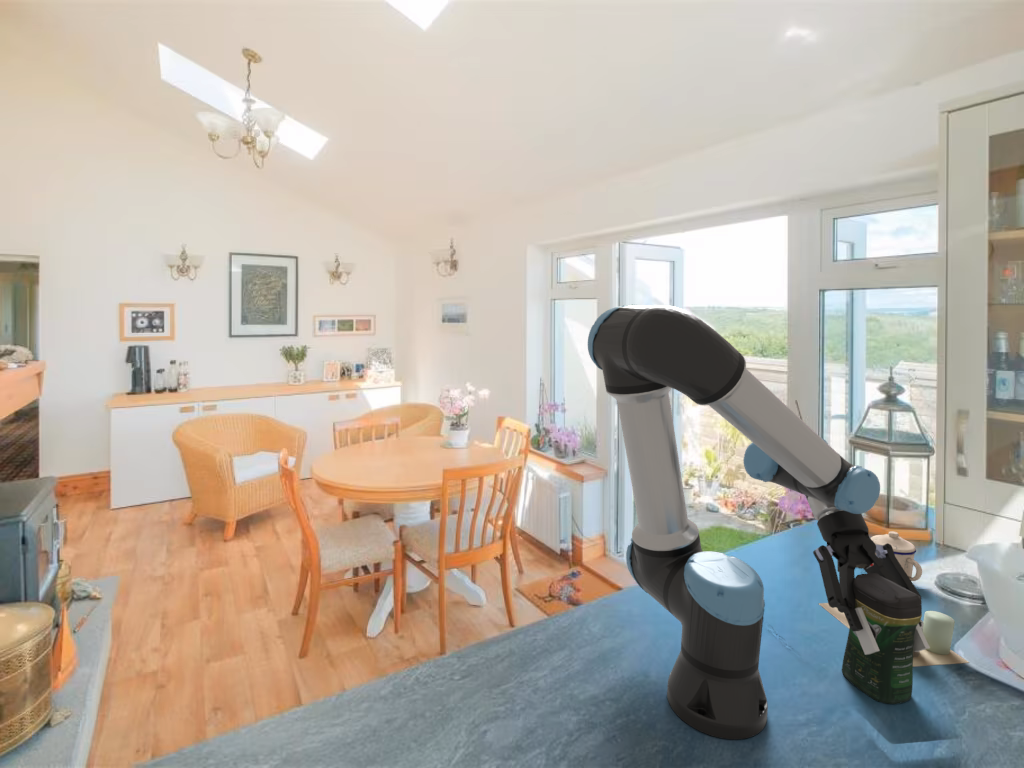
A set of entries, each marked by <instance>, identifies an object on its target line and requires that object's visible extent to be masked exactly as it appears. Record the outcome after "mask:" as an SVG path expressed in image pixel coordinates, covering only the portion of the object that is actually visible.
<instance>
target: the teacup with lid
mask: <svg viewBox="0 0 1024 768" xmlns="http://www.w3.org/2000/svg"><path fill="white" fill-rule="evenodd" d="M870 539H871V540H872V541H873V542H874V543H875V544H877V545H885V544H887V543H888V544H890V545H891V546H892V548H893V551H894V554H895V557H896V558H897V560H898V562H899V563H900V565H901V566H902V568H903V569H904V571H905V572H906V574H907V575H908V577H909V578H910V580H911V582H916V581H918V580H920V578H921V577H922V575H923V569H922V566H921V564H920V562H918V561H916V560H915V554H916V553H917V549H916V546H915V545H914V544H913V543H912V542H910V541H908V540H906V539H904V538H902V537H901V536H900V534H899V532H897V531H888V534H887V533H885V534H877V535H873V536H871V537H870ZM875 555H877V554H876V553H875ZM873 565H874V564H873V563H872V565H870V566H873ZM914 567H915V575H914V576H913V569H914ZM866 574H868V573H867V572H866Z"/></svg>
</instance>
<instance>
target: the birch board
mask: <svg viewBox="0 0 1024 768" xmlns="http://www.w3.org/2000/svg"><path fill="white" fill-rule="evenodd" d="M818 605H819V606H820V607H822V608H823V609H824V610H825V611H827V612H828V613H829V614H830V615H831V616H833V617H834V618H835V619H837V620H838V622H840V624H842V625H844V626H845V627H846V628H847V629H849V628H850V626H849V624H848V621H847V619H846V616H845V614H844V612H843V613H841V612H839V611H838V609H837V608H836V607H835V608H832V607H830V606H829V604H828V602H821V603H818ZM969 663H970V662H969V661H968V660H966V659H965V658H963V657H962V656H961V655H959V654H958V653H956V652H955V651H953V650H952V649H951V648H950V653H949V654H948V655H940V654H936V653H933V652H931V651H928V650H927V649H925V650H922V651H920V655H919V656H918V657H913V668H914V667H925V666H926V667H927V666H928V667H930V666H941V665H943V666H944V665H954V664H955V665H957V664H969Z"/></svg>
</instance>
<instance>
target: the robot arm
mask: <svg viewBox="0 0 1024 768" xmlns="http://www.w3.org/2000/svg"><path fill="white" fill-rule="evenodd" d="M587 351H588V356H589V358H590V359H591V361H592V362H593V364H594V365H595V366H596V367H597V368H598V369H599V370H600V371H602V375H603V380H604V381H603V382H604V385H605V392H606V393H607V395H610V396H611V397H612V398H614V399H615V400H616V402H617V408H618V414H619V418H620V419H619V420H620V424H621V431H622V436H623V441H624V448H625V455H626V459H627V466H628V469H629V476H630V483H631V488H632V494H633V499H634V500H633V501H634V505H635V511H636V516H637V517H636V518H637V523H638V524H636V525H635V526H634V528H633V529H632V532H631V538H630V543H629V544H628V545H627V547H626V554H625V561H626V566H627V570H628V572H629V574H630V575H631V577H632V578H633V581H635V583H636V584H637V585H638V586H639V587H640V588H641V590H643V591H644V592H645V593H647V594H648V595H649V596H651V597H652V598H653V599H654V600H655V601H656V602H657V603H658V604H660V605H661V606H662V607H663V608H664V609H666V610H667V611H668V613H670V614H671V615H672V616H674V618H675V619H676V620H677V621H678V622H680V624H681V638H680V639H681V640H680V645H681V646H680V651H679V654H678V656H677V658H676V661H675V663H674V664H673V667H672V669H671V671H670V673H669V675H668V680H667V691H666V693H667V697H666V698H667V702H668V703H669V704H668V705H669V706H670V708H671V709H672V710H673V712H674V714H675V715H677V717H678V718H680V719H681V720H682V721H683V722H684V723H686V724H687V725H688V726H690V727H692V728H693V729H695V730H697V731H699V732H701V733H704V734H706V735H709V736H712V737H715V738H719V739H725V740H743V739H749V738H751V737H754V736H756V735H758V734H760V733H761V732H762V731H763V730H764V729H765V727H766V725H767V721H768V708H769V704H768V699H767V695H766V691H765V687H764V685H763V682H762V681H763V680H762V677H761V674H760V669H759V665H760V652H761V644H762V643H761V642H762V634H763V633H762V632H763V622H764V613H765V606H766V602H765V598H764V596H765V595H764V594H765V593H764V591H765V588H764V584H763V580H762V578H761V576H760V575H759V573H758V572H757V571H756V570H755V569H754V568H753V567H752V566H750V564H748V562H747V563H746V562H745V561H744V560H742V559H739V558H738V557H736V556H733V555H726V554H725V552H718V551H711V550H708V551H707V550H706V551H704V550H703V549H702V543H701V537H700V531H699V528H698V525H697V524H696V523H695V522H694V521H692V520H691V519H689V517H688V511H687V505H686V499H685V497H686V496H685V491H684V484H683V478H682V472H681V465H680V460H679V459H680V458H679V452H678V445H677V441H676V440H677V439H676V433H675V426H674V420H673V413H672V408H671V401H670V391H671V390H672V389H673V390H676V391H678V392H680V393H681V394H683V395H685V396H686V397H687V398H688V399H690V400H691V401H693V403H695V404H697V405H700V406H708V407H710V408H711V409H712V410H714V411H715V412H716V413H717V414H718V415H720V416H721V417H722V418H723V419H724V420H725V421H727V422H728V423H729V424H730V425H732V427H733V428H735V429H736V430H737V431H739V432H740V433H741V435H743V436H744V437H745V438H747V439H748V440H749V441H751V443H750V444H749V445H748V446H747V447H746V449H745V452H744V454H743V467H744V469H745V472H746V473H747V475H748V476H749V477H750V478H752V479H754V480H758V481H762V482H763V483H773V484H776V485H779V486H782V487H784V488H786V489H788V490H791V491H793V492H796V493H799V494H802V495H804V497H805V498H806V501H807V503H808V506H809V508H810V511H811V513H812V515H813V517H814V519H815V520H816V521H817V523H816V524H817V527H818V531H820V532H819V533H820V535H821V537H822V540H823V541H824V542H825V543H826V545H824V544H823V545H820V546H819V547H817V548H816V549H814V550H813V551H812V553H813V556H814V558H815V559H816V562H817V563H818V565H819V570H820V573H821V578H822V583H823V587H824V592H825V595H826V600H827V603H828V604H829V606H830V607H832V608H835V607H836V608H837V609H838V611H839V612H841V613H843V612H844V614H845V616H846V619H847V621H848V624H849V626H850V628H851V630H852V631H856V634H857V636H858V639H859V641H860V644H861V646H862V649H863V651H864V653H865V655H868V654H872V653H875V652H878V651H880V650H879V648H878V645H877V643H876V641H875V638H874V636H873V634H872V631H871V629H870V626H869V624H868V622H867V619H866V617H865V615H864V612H863V610H862V608H861V607H860V608H855V593H854V590H853V581H854V579H855V577H856V576H855V571H856V569H863V571H864V572H865V573H866V574H867V573H878V574H879V575H880V576H882V577H884V578H886V579H888V580H890V581H892V582H894V583H896V584H898V585H900V586H902V587H904V588H906V589H908V590H910V591H911V592H913V593H915V594H917V595H918V596H920V598H921V600H923V599H922V596H921V594H920V592H919V591H918V589H917V588H916V586H915V585H914V582H913V581H911V580H910V578H909V577H908V575H907V574H906V572H905V571H904V569H903V568H902V566H901V565H900V563H899V562H898V560H897V558H896V557H895V554H894V551H893V548H892V546H891V545H890V544H888V543H887V544H885V545H877V544H875V543H874V542H873V541H872V540H871V537H870V534H869V526H868V525H867V523H866V520H865V518H864V516H863V514H865V513H867V512H869V511H870V510H872V508H873V507H874V506H875V504H876V502H877V501H878V499H879V498H880V494H881V484H880V483H881V482H880V480H879V477H878V476H877V475H876V473H874V472H873V471H872V470H869V469H867V468H864V467H863V466H860V465H856V464H852V463H850V462H849V461H847V460H846V459H845V458H844V457H843V456H842V455H841V454H840V453H838V452H837V451H836V450H835V449H834V448H833V447H832V446H830V445H829V443H828V442H827V440H826V439H824V438H823V437H821V436H820V435H819V434H817V433H816V431H814V430H813V429H812V428H811V427H810V426H809V425H808V424H807V423H806V422H804V420H803V419H801V418H800V417H799V416H798V415H797V414H796V412H794V411H793V410H791V408H790V407H789V406H787V405H786V404H785V403H784V402H783V401H782V400H781V399H780V398H779V397H777V395H775V394H774V393H773V392H772V391H771V390H770V389H769V388H768V387H767V386H766V385H764V384H763V383H762V382H761V381H760V380H759V379H758V378H757V377H756V376H755V375H754V374H752V373H751V371H750V370H749V369H747V362H746V361H747V360H746V359H745V358H746V357H744V355H743V354H742V353H741V352H740V351H739V350H737V348H735V347H734V346H733V345H732V344H731V343H730V342H729V341H728V340H726V338H724V337H723V336H722V335H721V334H719V333H718V332H717V331H716V330H715V329H714V328H712V327H711V326H710V325H708V324H707V323H705V321H703V320H702V319H700V318H698V317H697V316H696V315H694V314H693V313H691V312H689V311H688V310H685V309H683V308H679V307H677V306H674V305H673V306H672V305H637V304H628V305H625V304H624V305H620V306H613V307H612V308H610V309H608V310H605V311H604V312H603V313H601V314H600V315H599V316H598V317H597V318H596V320H595V321H594V323H593V325H592V326H591V327H590V329H589V333H588V337H587ZM875 553H876V554H877V555H875ZM833 557H834V558H835V559H836V560H837V561H836V562H837V569H836V566H835V561H834V558H833ZM872 563H873V564H874V565H873V566H870V565H872ZM837 572H838V573H837ZM838 576H839V577H838ZM921 626H922V624H921V621H920V622H919V623H918V625H917V627H916V630H915V635H914V647H913V650H914V652H919V651H922V650H925V649H928V648H930V647H929V645H928V643H927V640H926V638H925V636H924V634H923V632H922V630H921V628H920V627H921Z"/></svg>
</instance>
